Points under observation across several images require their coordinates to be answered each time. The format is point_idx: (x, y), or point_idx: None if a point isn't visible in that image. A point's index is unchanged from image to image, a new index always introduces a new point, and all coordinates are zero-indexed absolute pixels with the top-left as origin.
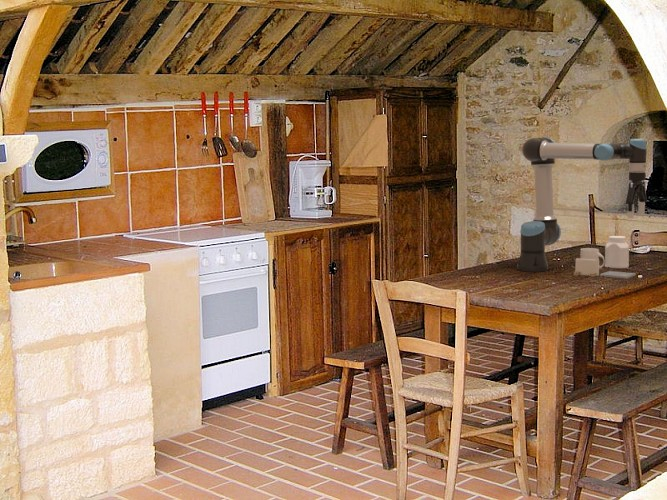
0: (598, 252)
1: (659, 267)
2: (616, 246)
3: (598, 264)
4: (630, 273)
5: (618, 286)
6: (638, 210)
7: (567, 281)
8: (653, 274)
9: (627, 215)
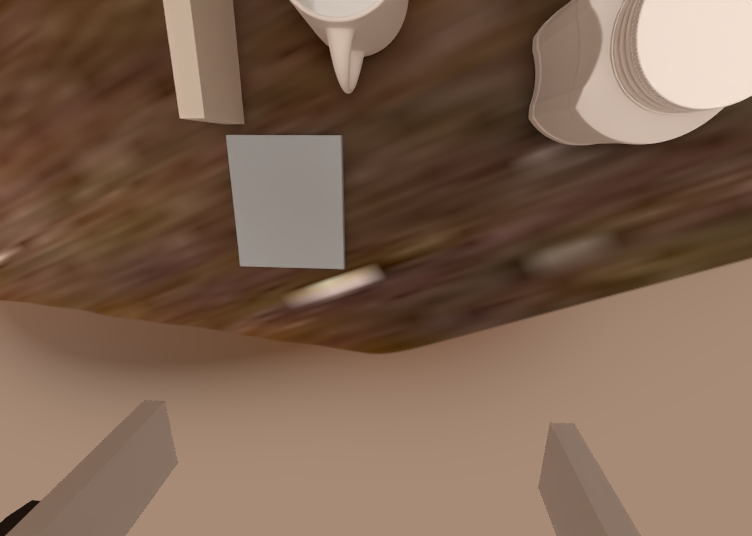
0: (336, 33)
1: (637, 280)
2: (586, 70)
3: (207, 120)
4: (326, 251)
5: (68, 297)
6: (583, 491)
7: (11, 62)
8: (411, 318)
9: (118, 426)
